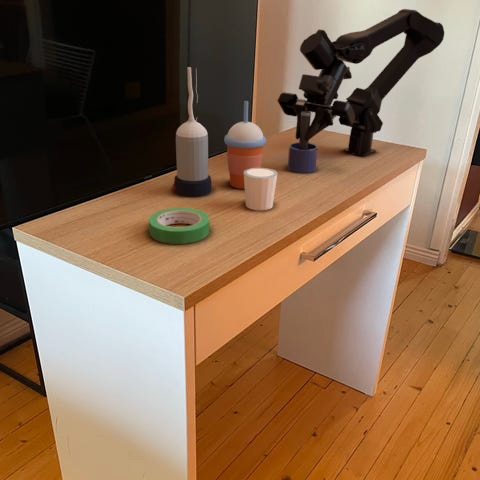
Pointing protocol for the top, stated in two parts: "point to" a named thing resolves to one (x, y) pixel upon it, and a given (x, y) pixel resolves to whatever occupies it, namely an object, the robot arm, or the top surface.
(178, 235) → the tape roll
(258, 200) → the white tapered cup
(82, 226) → the top surface
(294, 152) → the blue cup
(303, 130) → the gray cylinder
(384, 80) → the robot arm
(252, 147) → the cup with straw
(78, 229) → the top surface
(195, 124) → the humidifier
